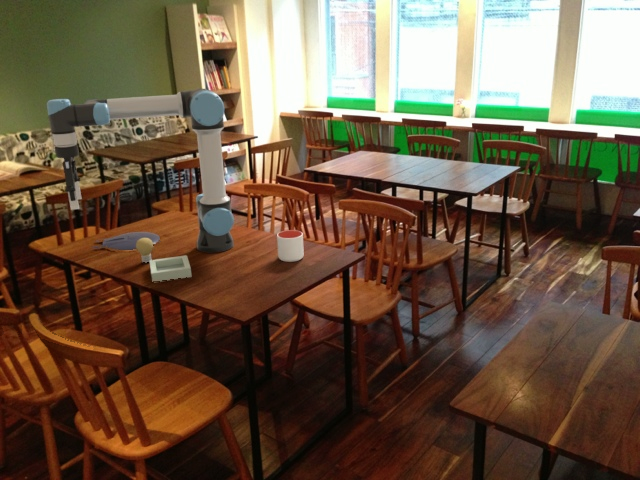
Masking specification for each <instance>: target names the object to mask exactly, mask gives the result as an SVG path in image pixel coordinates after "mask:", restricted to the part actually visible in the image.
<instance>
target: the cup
mask: <svg viewBox="0 0 640 480" xmlns="http://www.w3.org/2000/svg"><path fill="white" fill-rule="evenodd" d="M303 236H304V233H303V232H302V231H300V230H297V229H290V230H288V229H287V230H282V231H280V232H278V233H277V234H276V240H277V241H276V242H277V256H278V259H279V260H281V261H283V262H285V263H287V262H288V263H292V262H298V261H300V260H302V259H303V257H304V255H305V254H304V252H305V251H304V249H305V248H304V237H303Z"/></svg>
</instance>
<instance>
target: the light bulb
mask: <svg viewBox="0 0 640 480" xmlns="http://www.w3.org/2000/svg"><path fill="white" fill-rule="evenodd" d="M136 248H137V250H138V251H137V252H138V253H139V254H140V255H141V256H140V257H141V262H142V263H143V262H145V263H144V264H148V263H147V262H149V263H150V261H149V260H153V259H152V254H151V253H152V251H153V249H154V246H153V242H152V240H150V239H149V238H141V239H139V240H138V241H137V243H136Z"/></svg>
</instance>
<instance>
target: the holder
mask: <svg viewBox="0 0 640 480" xmlns="http://www.w3.org/2000/svg"><path fill="white" fill-rule="evenodd" d="M149 261H150V262H149V266H150V276H151V281H152V282H153V281H160V282H163V281H162V280H167V281H171V280H170V279H174V280H179V279H178V278H181V279H185V278H186V277H187V278H192V276H193V275H192V268H191V265H190V261H189V258H188V255H180V256H173V257H172V256H170V257H165V258H156V259H152V260H149ZM187 278H186V279H187Z"/></svg>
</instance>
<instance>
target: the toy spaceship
mask: <svg viewBox="0 0 640 480" xmlns="http://www.w3.org/2000/svg"><path fill="white" fill-rule="evenodd" d="M160 237H161V236H159V234H157V233H153V232H148V231H136V232H135V231H133V232H127V233H123V234H119V235H115V236H111V237H108V238H104V239H97V240H95V242H101V241H100V240H104V241H102V244H101V245H96V246H92V247H91V249H92V248H98V247H108V248H111V249H118V250H133V249H137V248H136V243H137V241H138V240H139V239H141V238H149V239H150V240H152V242H153V244H156V243H157V242H158V241H160ZM160 242H161V241H160Z"/></svg>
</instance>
